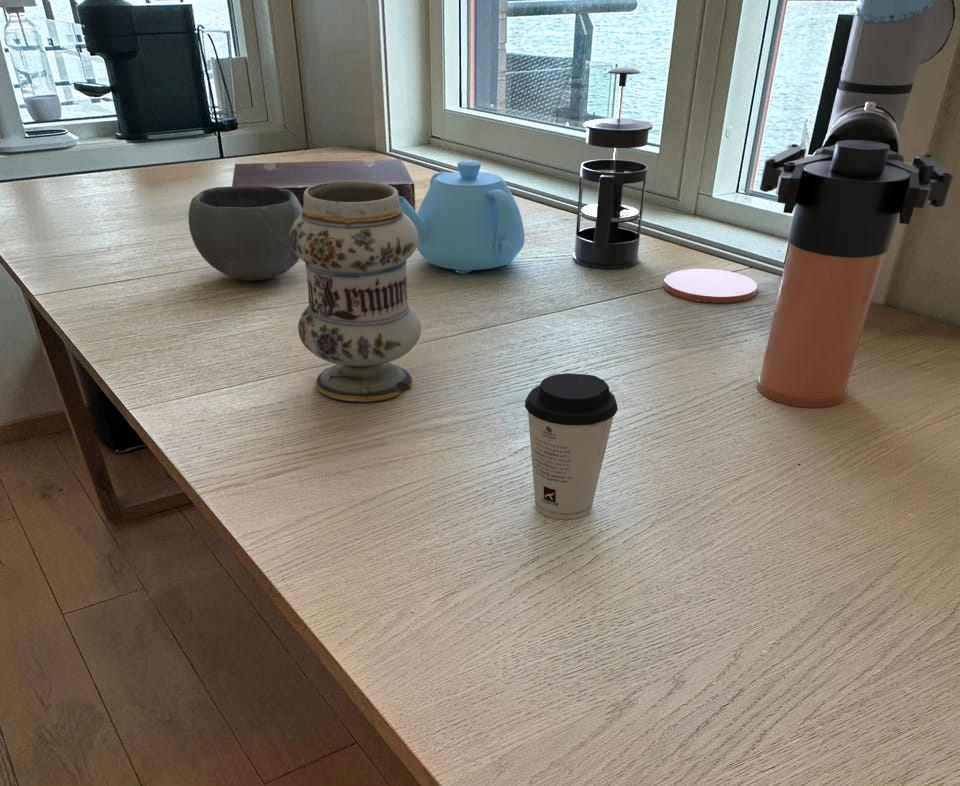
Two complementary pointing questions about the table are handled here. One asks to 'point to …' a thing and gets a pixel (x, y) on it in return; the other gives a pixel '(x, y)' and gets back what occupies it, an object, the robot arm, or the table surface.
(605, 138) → the french press
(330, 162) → the hardback book
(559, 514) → the coffee cup
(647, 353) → the table surface
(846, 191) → the shaker lid
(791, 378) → the cylinder
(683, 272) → the coaster
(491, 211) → the teapot
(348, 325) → the apothecary jar
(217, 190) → the bowl
